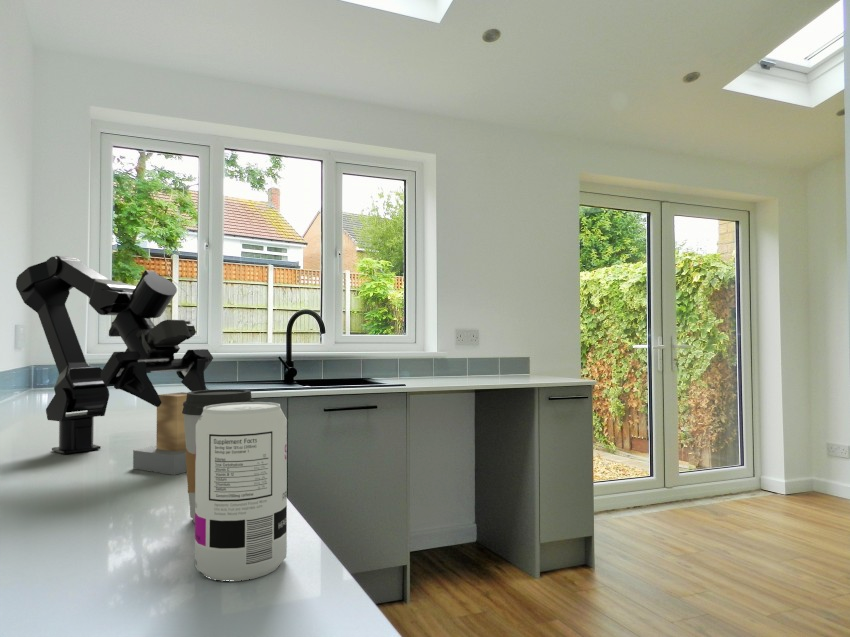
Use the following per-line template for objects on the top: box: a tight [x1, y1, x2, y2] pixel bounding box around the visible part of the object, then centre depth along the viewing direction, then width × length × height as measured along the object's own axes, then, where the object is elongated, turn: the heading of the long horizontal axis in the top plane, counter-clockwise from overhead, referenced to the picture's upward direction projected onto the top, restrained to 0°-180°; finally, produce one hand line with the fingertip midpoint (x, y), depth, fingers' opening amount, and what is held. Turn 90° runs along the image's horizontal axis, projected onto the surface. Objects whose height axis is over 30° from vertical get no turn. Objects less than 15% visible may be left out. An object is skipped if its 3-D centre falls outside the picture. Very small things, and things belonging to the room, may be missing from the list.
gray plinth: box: [132, 445, 187, 476], centre depth 98 cm, size 10×10×3 cm
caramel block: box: [156, 391, 188, 452], centre depth 98 cm, size 5×5×9 cm
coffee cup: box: [182, 388, 255, 524], centre depth 69 cm, size 8×8×15 cm
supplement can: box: [194, 401, 288, 582], centre depth 55 cm, size 8×8×15 cm
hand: (183, 402), depth 98 cm, fingers open, 9 cm apart
